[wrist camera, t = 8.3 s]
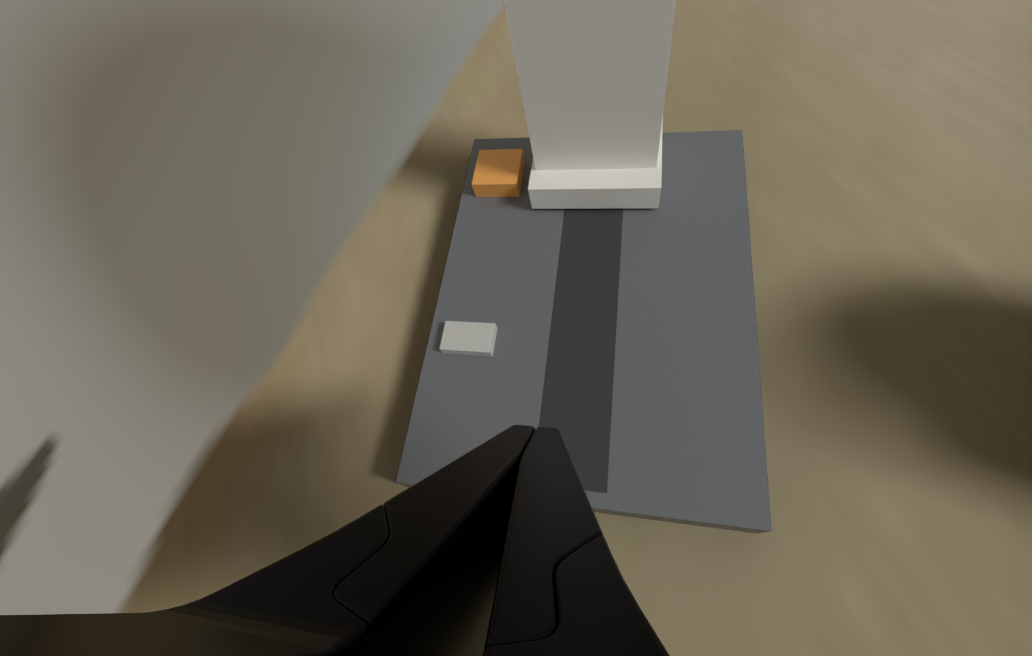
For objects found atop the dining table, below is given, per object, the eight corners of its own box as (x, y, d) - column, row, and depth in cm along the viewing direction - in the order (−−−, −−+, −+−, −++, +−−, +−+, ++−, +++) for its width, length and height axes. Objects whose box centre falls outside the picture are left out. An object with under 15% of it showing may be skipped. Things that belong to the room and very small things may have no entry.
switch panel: (757, 533, 16) (780, 529, 13) (411, 488, 18) (386, 478, 16) (734, 156, 22) (747, 114, 20) (481, 162, 25) (470, 126, 23)
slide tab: (658, 208, 19) (697, -75, 11) (532, 208, 21) (475, -48, 12) (660, 134, 21) (695, -163, 12) (542, 138, 22) (499, -132, 14)
